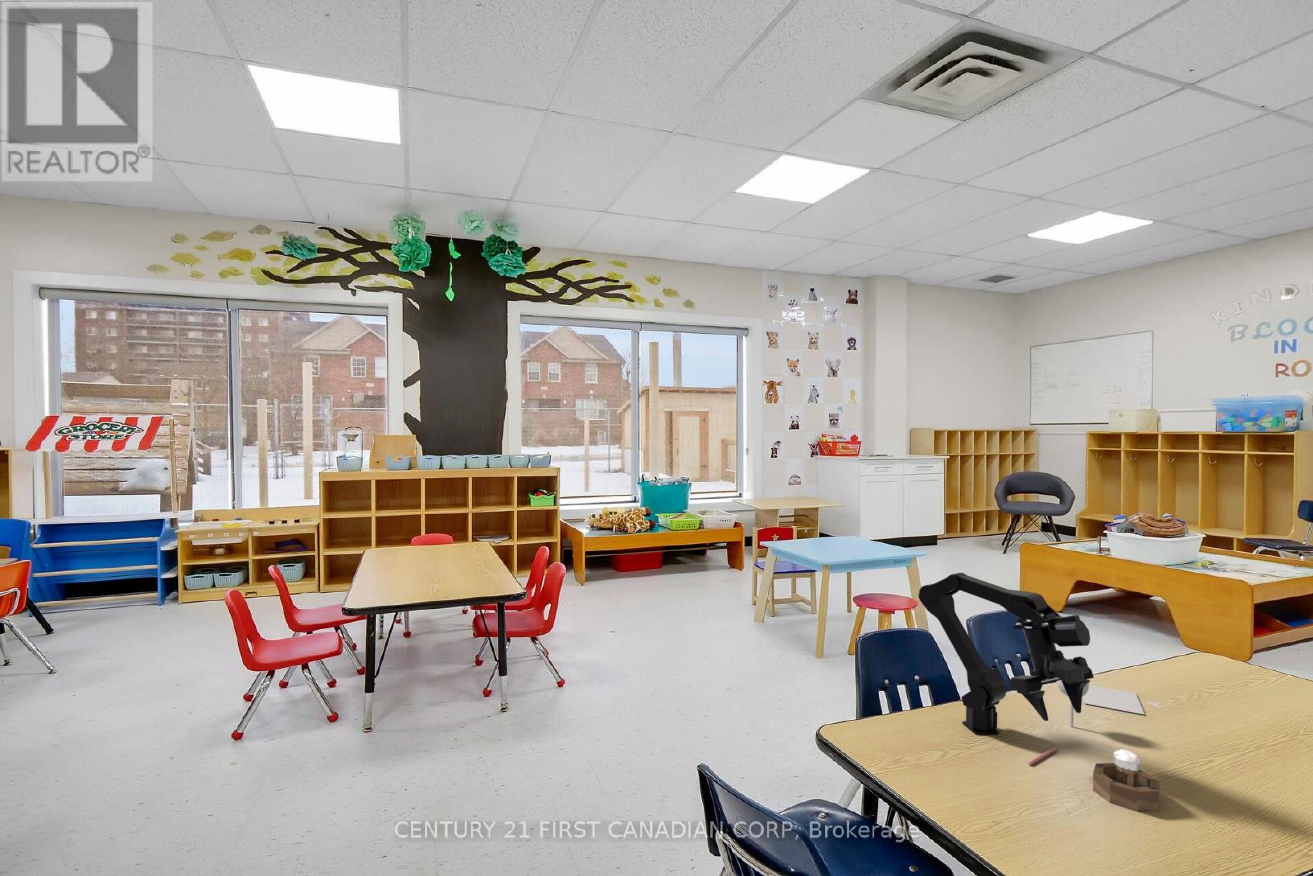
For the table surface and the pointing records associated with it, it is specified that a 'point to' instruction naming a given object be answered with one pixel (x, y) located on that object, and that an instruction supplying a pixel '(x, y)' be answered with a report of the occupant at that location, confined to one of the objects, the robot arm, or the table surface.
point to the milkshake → (1126, 767)
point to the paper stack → (1114, 699)
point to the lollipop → (1062, 689)
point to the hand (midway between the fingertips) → (1062, 716)
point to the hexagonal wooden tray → (1126, 789)
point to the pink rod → (1042, 756)
